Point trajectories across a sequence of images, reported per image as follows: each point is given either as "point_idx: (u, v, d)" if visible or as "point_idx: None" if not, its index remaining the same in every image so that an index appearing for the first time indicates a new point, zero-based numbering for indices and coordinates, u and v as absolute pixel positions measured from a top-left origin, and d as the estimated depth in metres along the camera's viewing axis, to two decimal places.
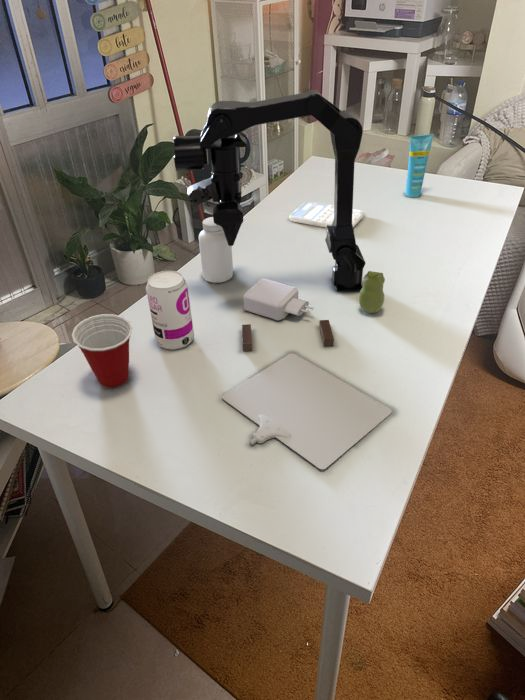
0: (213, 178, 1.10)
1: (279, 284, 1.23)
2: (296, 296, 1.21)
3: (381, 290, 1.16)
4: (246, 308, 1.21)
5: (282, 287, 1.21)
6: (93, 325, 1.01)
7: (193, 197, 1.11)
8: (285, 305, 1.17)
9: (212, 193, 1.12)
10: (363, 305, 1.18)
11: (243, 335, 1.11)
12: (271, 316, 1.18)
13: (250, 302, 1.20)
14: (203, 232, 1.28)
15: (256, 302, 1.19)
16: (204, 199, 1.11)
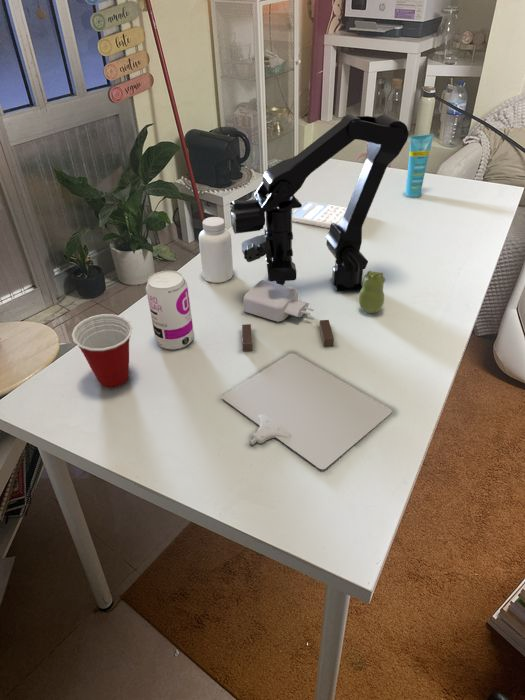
0: (268, 237, 1.16)
1: (279, 285, 1.22)
2: (296, 297, 1.21)
3: (381, 290, 1.16)
4: (246, 310, 1.21)
5: (282, 288, 1.21)
6: (93, 325, 1.01)
7: (248, 255, 1.16)
8: (285, 306, 1.17)
9: (266, 250, 1.17)
10: (363, 305, 1.18)
11: (243, 335, 1.11)
12: (271, 317, 1.18)
13: (250, 304, 1.19)
14: (203, 232, 1.28)
15: (256, 304, 1.18)
16: (258, 256, 1.16)
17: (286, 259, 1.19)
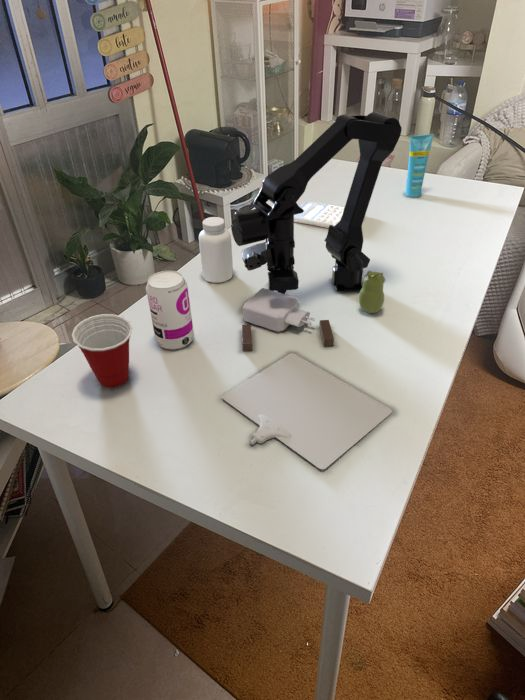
0: (269, 245, 1.13)
1: (279, 294, 1.19)
2: (297, 306, 1.18)
3: (381, 290, 1.16)
4: (245, 319, 1.18)
5: (283, 297, 1.18)
6: (93, 325, 1.01)
7: (249, 263, 1.13)
8: (286, 316, 1.14)
9: (267, 259, 1.14)
10: (363, 305, 1.18)
11: (243, 335, 1.11)
12: (271, 327, 1.15)
13: (249, 313, 1.16)
14: (203, 232, 1.28)
15: (255, 313, 1.15)
16: (259, 265, 1.13)
17: (288, 267, 1.16)
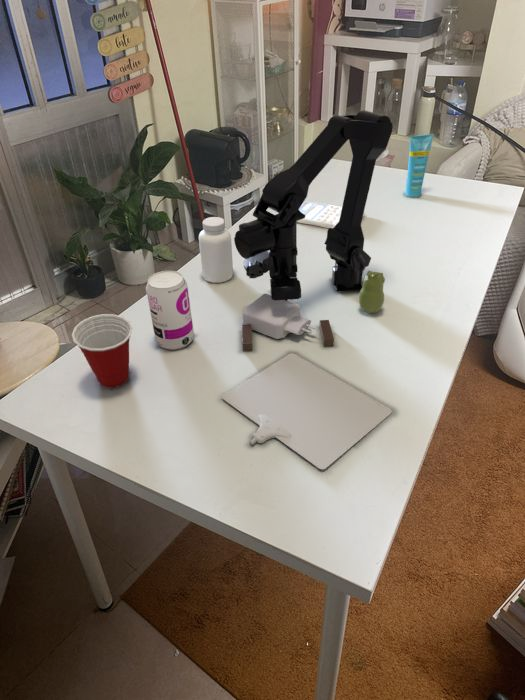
0: (271, 253, 1.10)
1: (281, 300, 1.17)
2: (298, 314, 1.15)
3: (381, 290, 1.16)
4: None
5: (284, 304, 1.16)
6: (93, 325, 1.01)
7: (250, 272, 1.10)
8: (285, 323, 1.12)
9: (269, 267, 1.11)
10: (363, 305, 1.18)
11: (243, 335, 1.11)
12: (270, 334, 1.13)
13: (249, 319, 1.14)
14: (203, 232, 1.28)
15: (255, 319, 1.13)
16: (261, 273, 1.11)
17: (290, 274, 1.14)
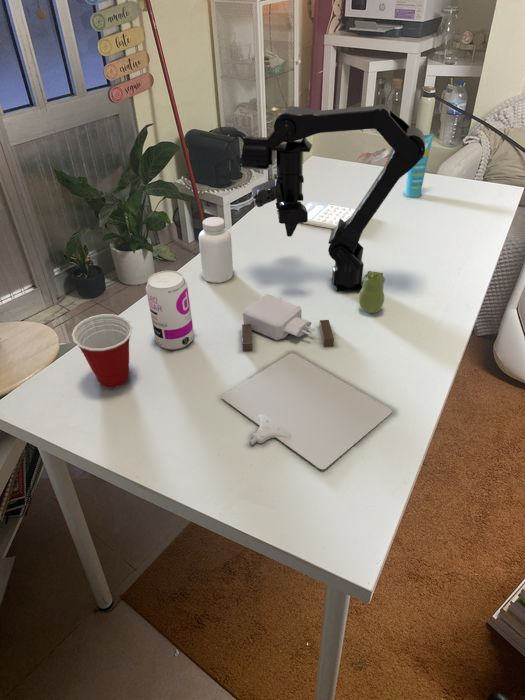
0: (278, 180, 1.15)
1: (282, 301, 1.17)
2: (298, 315, 1.15)
3: (381, 290, 1.16)
4: None
5: (285, 305, 1.15)
6: (93, 325, 1.01)
7: (259, 198, 1.16)
8: (285, 324, 1.11)
9: (276, 194, 1.17)
10: (363, 305, 1.18)
11: (243, 335, 1.11)
12: (270, 335, 1.13)
13: (249, 319, 1.14)
14: (203, 232, 1.28)
15: (255, 319, 1.13)
16: (269, 200, 1.16)
17: (296, 204, 1.19)
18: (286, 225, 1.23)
